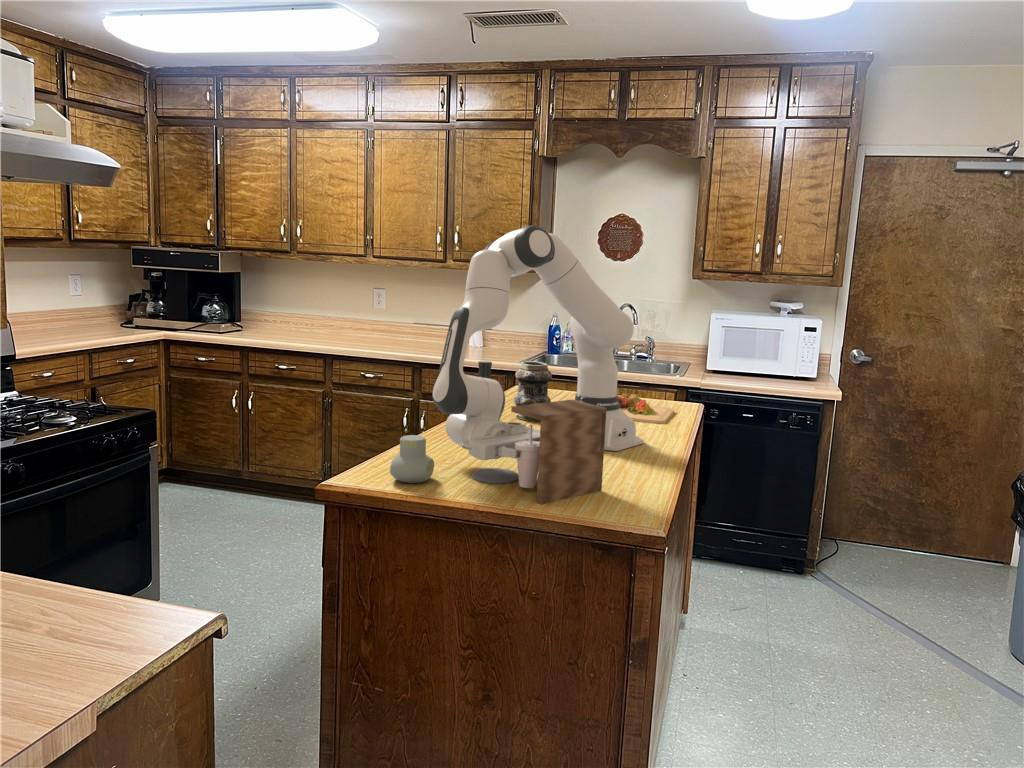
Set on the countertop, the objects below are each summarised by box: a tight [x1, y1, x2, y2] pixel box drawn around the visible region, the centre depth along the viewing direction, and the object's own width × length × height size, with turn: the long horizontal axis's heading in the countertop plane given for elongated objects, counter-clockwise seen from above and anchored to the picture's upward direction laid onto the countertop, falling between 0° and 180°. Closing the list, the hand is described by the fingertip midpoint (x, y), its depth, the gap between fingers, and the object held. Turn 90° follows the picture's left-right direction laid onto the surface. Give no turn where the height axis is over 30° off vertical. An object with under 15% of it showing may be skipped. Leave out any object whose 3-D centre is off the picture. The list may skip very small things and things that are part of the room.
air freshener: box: [389, 434, 435, 484], centre depth 180 cm, size 11×8×10 cm
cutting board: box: [616, 393, 675, 425], centre depth 269 cm, size 35×23×8 cm
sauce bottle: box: [477, 360, 493, 379], centre depth 238 cm, size 7×6×20 cm
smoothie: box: [515, 424, 540, 489], centre depth 176 cm, size 6×6×14 cm
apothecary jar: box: [513, 360, 553, 422], centre depth 253 cm, size 12×12×18 cm
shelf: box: [510, 399, 607, 505], centre depth 176 cm, size 18×11×19 cm, turn 128°
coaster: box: [471, 467, 519, 485], centre depth 186 cm, size 11×11×1 cm
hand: (531, 452), depth 175 cm, fingers closed on smoothie, 6 cm apart
